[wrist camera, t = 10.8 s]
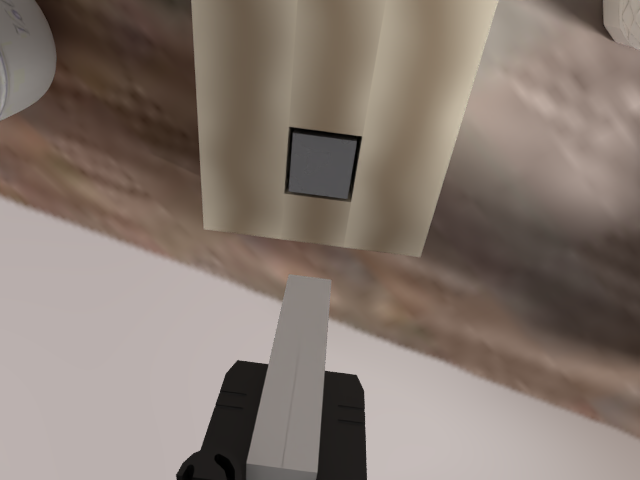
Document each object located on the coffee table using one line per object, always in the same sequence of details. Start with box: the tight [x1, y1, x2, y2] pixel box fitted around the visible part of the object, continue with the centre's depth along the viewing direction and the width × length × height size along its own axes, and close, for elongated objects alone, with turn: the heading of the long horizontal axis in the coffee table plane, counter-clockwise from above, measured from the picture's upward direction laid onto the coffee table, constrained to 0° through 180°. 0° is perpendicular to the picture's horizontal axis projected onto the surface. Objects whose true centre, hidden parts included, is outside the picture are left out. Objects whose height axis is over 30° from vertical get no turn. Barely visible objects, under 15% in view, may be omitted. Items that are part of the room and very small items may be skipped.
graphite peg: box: [289, 128, 357, 199], centre depth 28 cm, size 4×4×6 cm
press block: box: [191, 0, 499, 257], centre depth 25 cm, size 16×24×7 cm, turn 174°
